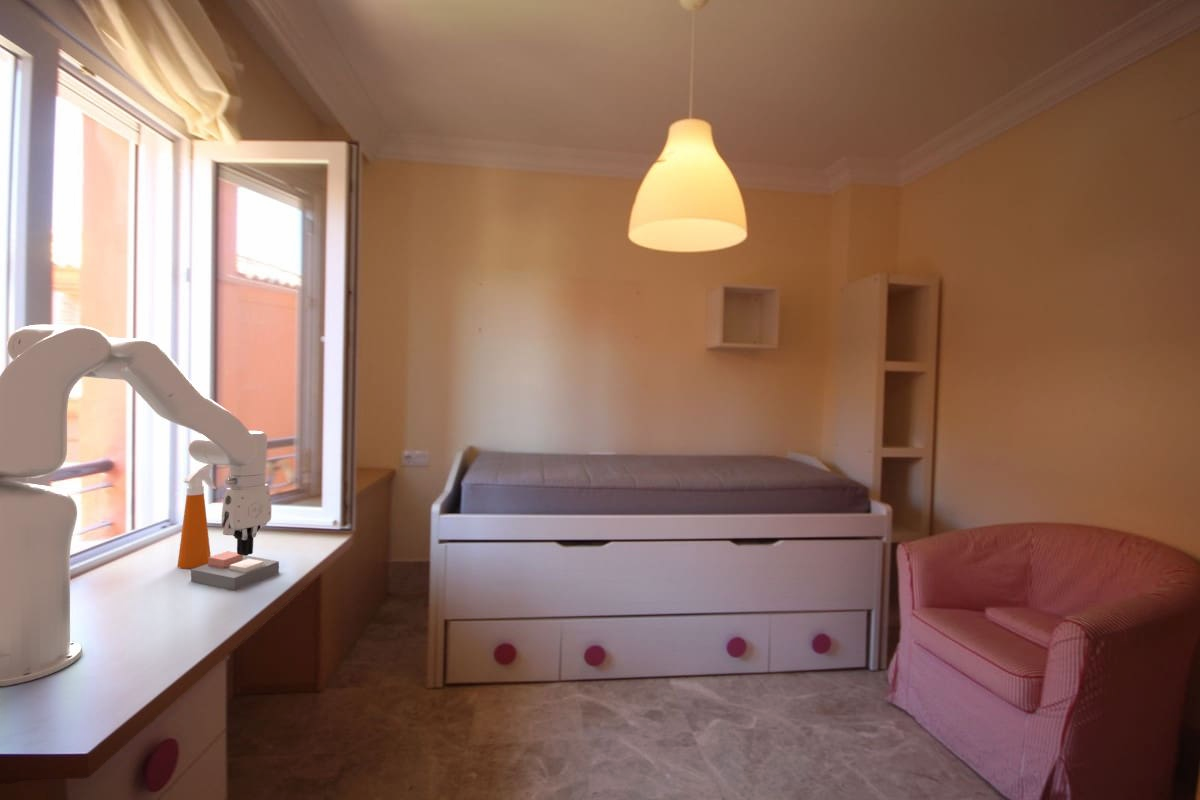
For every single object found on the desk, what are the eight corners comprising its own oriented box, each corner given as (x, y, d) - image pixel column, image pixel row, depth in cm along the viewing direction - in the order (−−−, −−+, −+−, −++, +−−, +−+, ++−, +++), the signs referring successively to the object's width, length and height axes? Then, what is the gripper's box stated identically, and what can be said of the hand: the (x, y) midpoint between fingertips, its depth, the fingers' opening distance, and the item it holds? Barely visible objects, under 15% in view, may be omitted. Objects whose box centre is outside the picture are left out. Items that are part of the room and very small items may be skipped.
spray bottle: (227, 555, 144) (228, 462, 143) (198, 569, 133) (199, 469, 132) (201, 554, 144) (202, 461, 143) (170, 568, 133) (171, 467, 132)
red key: (223, 569, 127) (223, 560, 127) (208, 566, 129) (208, 557, 129) (242, 562, 132) (242, 553, 132) (227, 560, 134) (228, 551, 133)
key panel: (234, 590, 122) (234, 578, 122) (190, 581, 126) (191, 569, 126) (278, 572, 133) (278, 561, 133) (237, 564, 137) (237, 553, 137)
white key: (245, 577, 125) (245, 568, 125) (229, 574, 127) (229, 565, 127) (263, 570, 130) (263, 561, 130) (248, 567, 132) (248, 558, 131)
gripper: (229, 487, 119) (226, 565, 119) (285, 477, 133) (282, 547, 134) (205, 484, 121) (203, 561, 122) (263, 475, 136) (260, 543, 136)
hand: (244, 553), depth 128 cm, fingers closed
